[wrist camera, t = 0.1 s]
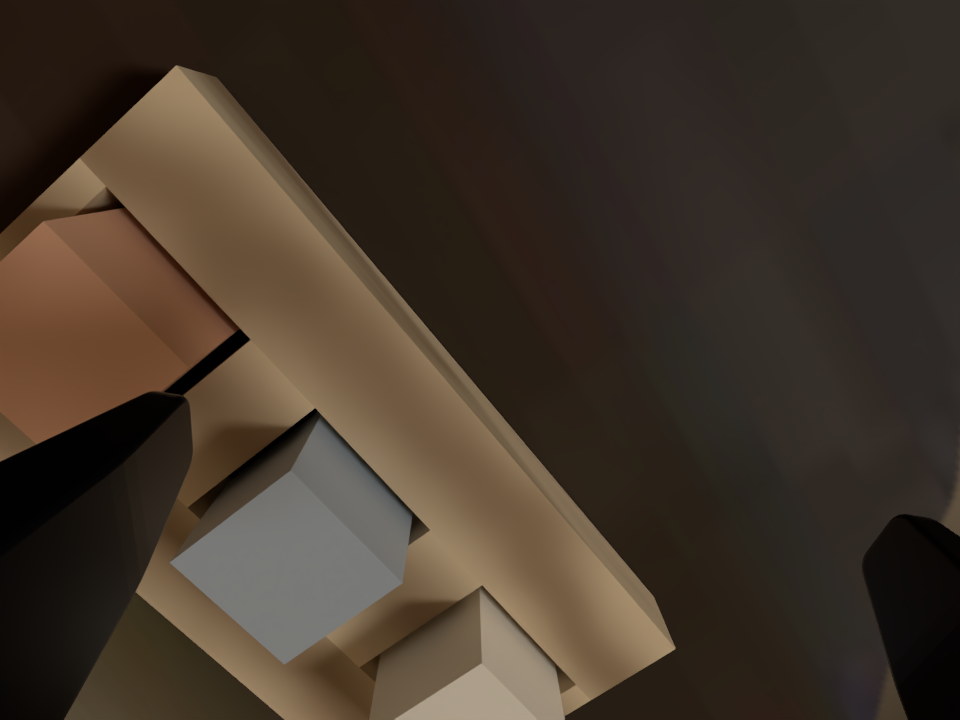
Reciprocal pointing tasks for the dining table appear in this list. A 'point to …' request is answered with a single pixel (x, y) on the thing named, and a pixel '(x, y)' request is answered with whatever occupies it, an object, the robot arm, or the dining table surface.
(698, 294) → the dining table surface
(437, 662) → the beige cube
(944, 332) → the dining table surface
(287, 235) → the beige flat board
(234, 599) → the grey cube
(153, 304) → the brown cube
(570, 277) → the dining table surface
